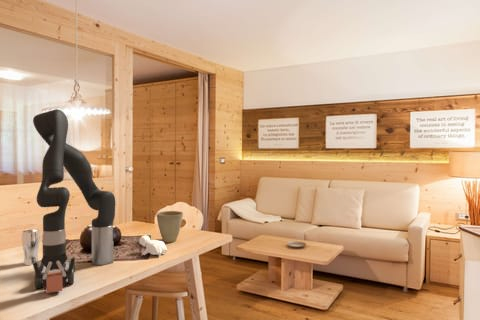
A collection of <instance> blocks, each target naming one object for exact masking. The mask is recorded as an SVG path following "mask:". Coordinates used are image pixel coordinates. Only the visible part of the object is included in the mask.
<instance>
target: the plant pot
mask: <svg viewBox="0 0 480 320" xmlns="http://www.w3.org/2000/svg"><path fill="white" fill-rule="evenodd" d="M183 216H184V213H183V212H182V211H179V210H178V211H177V210H167V211H160V212H157V213H156V221H157V225H158V229H159V234H160V236H161V239H162V242H164V243H174V242H176V241H177V239H178V237H179V235H180V230H181V228H182V222H183Z"/></svg>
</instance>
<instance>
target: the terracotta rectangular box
mask: <svg viewBox="0 0 480 320" xmlns="http://www.w3.org/2000/svg"><path fill="white" fill-rule="evenodd" d="M62 276H63V275H62V273H61V272H60V271H54V272H48V275H47V277H46V286H47V289H46V294H49V293H56V292H63V289H64V288H63V287H64V286H62Z"/></svg>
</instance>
